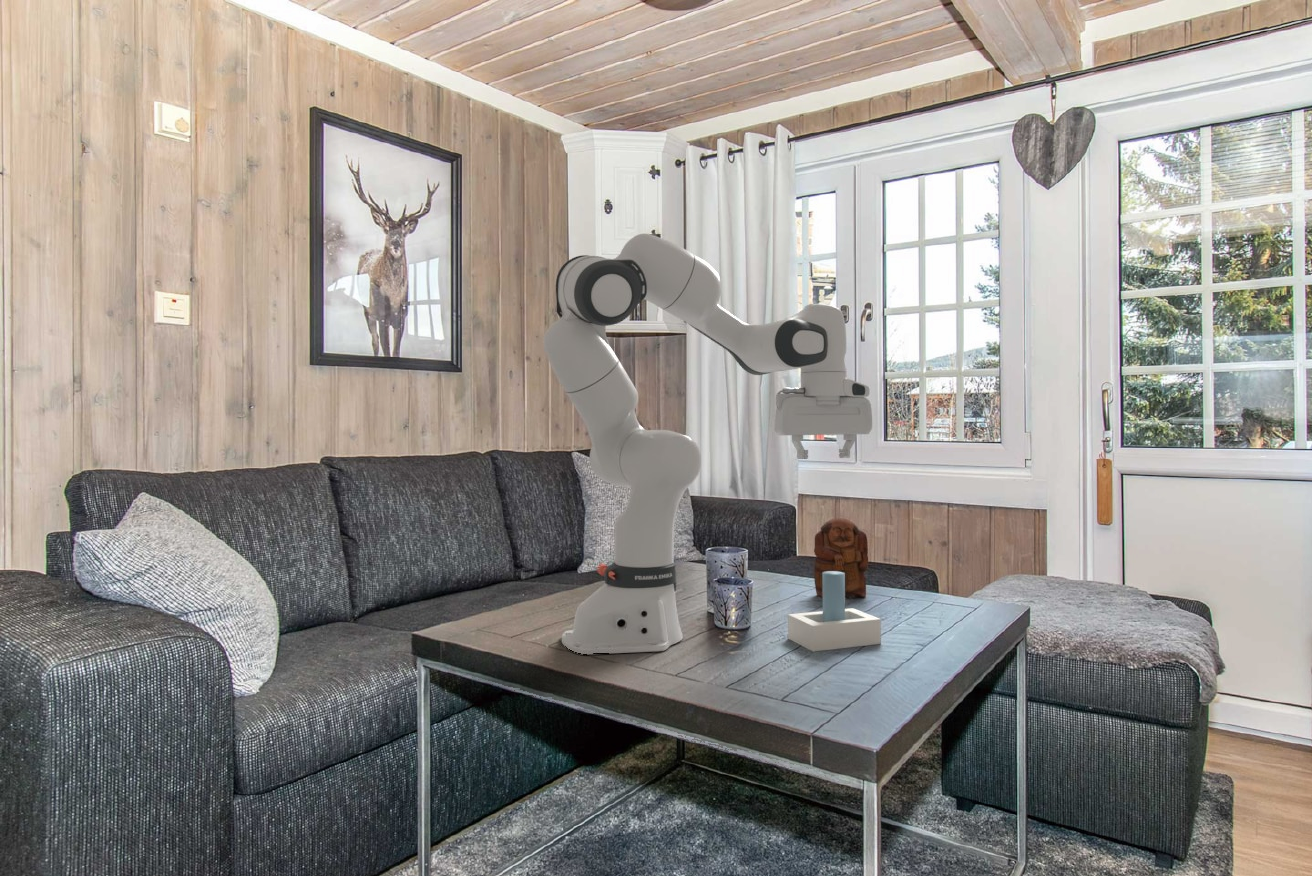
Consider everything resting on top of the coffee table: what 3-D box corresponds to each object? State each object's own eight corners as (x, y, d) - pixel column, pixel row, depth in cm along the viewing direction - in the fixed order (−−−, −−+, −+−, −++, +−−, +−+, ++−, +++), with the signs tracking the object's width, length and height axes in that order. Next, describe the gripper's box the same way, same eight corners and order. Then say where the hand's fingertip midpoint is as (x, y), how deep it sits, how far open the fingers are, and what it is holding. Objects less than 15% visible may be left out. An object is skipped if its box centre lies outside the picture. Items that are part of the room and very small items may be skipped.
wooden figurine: (821, 600, 178) (821, 520, 177) (812, 594, 184) (812, 517, 184) (871, 598, 179) (871, 519, 179) (860, 592, 186) (860, 516, 185)
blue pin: (830, 642, 142) (830, 575, 142) (818, 636, 146) (818, 572, 145) (849, 639, 143) (849, 574, 143) (837, 634, 147) (837, 570, 147)
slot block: (813, 651, 138) (813, 625, 138) (788, 638, 146) (788, 614, 146) (881, 643, 142) (880, 618, 142) (852, 631, 151) (852, 608, 151)
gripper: (784, 386, 148) (784, 460, 148) (876, 387, 155) (876, 457, 155) (768, 388, 154) (768, 458, 154) (858, 389, 160) (858, 456, 161)
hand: (823, 458), depth 154 cm, fingers open, 8 cm apart
